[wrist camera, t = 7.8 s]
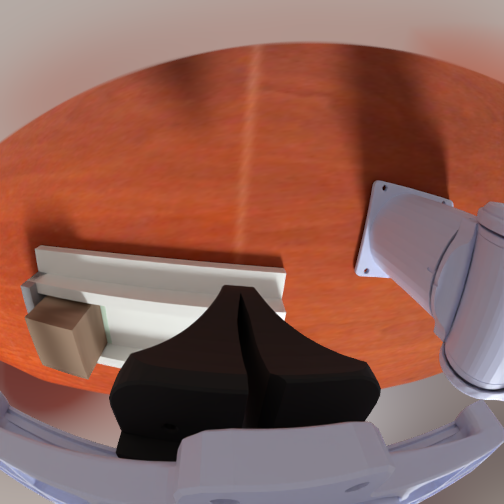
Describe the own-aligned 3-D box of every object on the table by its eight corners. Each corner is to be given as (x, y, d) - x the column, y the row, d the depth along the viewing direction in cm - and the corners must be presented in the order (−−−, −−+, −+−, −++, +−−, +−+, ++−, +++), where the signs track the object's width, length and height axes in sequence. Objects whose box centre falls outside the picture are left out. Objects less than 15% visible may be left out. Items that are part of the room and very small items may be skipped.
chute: (284, 268, 21) (294, 292, 17) (263, 376, 25) (267, 406, 22) (40, 245, 19) (15, 261, 15) (64, 347, 23) (49, 370, 19)
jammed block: (98, 296, 20) (72, 330, 15) (107, 342, 21) (88, 379, 17) (54, 288, 19) (24, 317, 14) (65, 333, 21) (42, 364, 16)
